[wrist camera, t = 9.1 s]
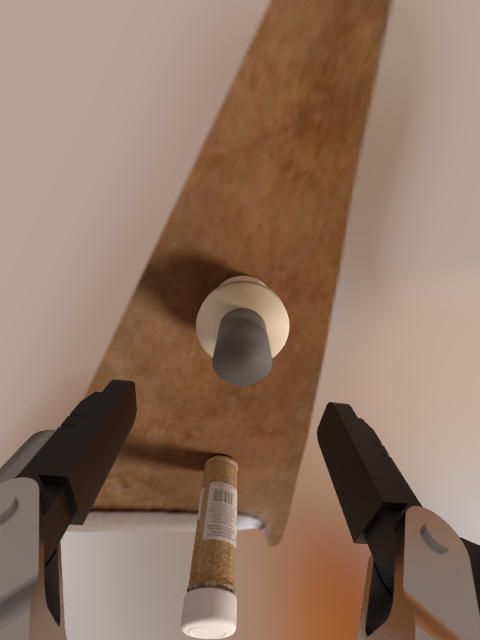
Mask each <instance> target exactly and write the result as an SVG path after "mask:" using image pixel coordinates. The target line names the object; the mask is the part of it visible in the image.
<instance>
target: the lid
mask: <svg viewBox="0 0 480 640" xmlns="http://www.w3.org/2000/svg"><path fill="white" fill-rule="evenodd" d="M196 332H197V337H198V340H199V342H200V344H201V346H202V347H203V349H204V350H205V351H206V352H207V353H208V354H209V355H210V356H211V357H212V358H213V367H214V370H215V372H216V373H217V374H218V376H219V377H220V378H222V379H223V380H224V381H226V382H228V383H231V384H234V385H240V386H245V385H251V384H255V383H257V382H259V381H261V380H262V379H264V378H265V377H266V376H267V375H268V373H269V372H270V370H271V367H272V358H273V357H274V356H276V355H277V354H278V353H279V351H280V350H281V349H282V348H283V346H284V345H285V342H286V340H287V337H288V334H289V318H288V315H287V312H286V310H285V307H284V305H283V303H282V301H281V300H280V298H279V297H278V296H277V295H276V294H275V293H274V292H273V291H272V290H271V289H269V288H268V287H266V286H264V285H262V284H260V283H257V282H253V281H244V280H241V281H233V282H229V283H226V284H223V285H221V286H219V287H217V288H216V289H215V290H213V291H212V292H211V293H210V294H209V295H208V296H207V297H206V299H205V300H204V302H203V303H202V306H201V308H200V310H199V312H198V315H197V319H196Z"/></svg>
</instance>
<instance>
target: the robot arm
mask: <svg viewBox="0 0 480 640" xmlns="http://www.w3.org/2000/svg"><path fill="white" fill-rule="evenodd" d="M136 412H137V407H136V393H135V383H134V382H133V381H124V380H112V381H111V382H110V383H109V384H108V385H107V387H106V388H105V389H104V390H103V392H94V393H93V394H91V395H90V396H88V397H87V398H85V399H84V400H82V401H81V402H80V403H79V404H78V406H76V408H75V409H74V410H73V411H72V412H71V414H70V416H68V417H67V418H66V419H65V421H64V422H63V423H62V424H61V427H59V428H58V429H57V430H45V431H40V432H38V433H35V434H34V435H32V436H31V437H30V438H29V439H28V440H27V441H26V442H25V443H24V444H23V445H22V446H21V447H20V448H19V449H18V451H17V452H16V453H15V454H14V455H13V456H12V457H11V458H10V459H9V460H8V461H7V462H6V463H5V464H4V465H3V466H2V467H1V468H0V640H67V638H66V631H65V622H64V602H63V583H62V565H61V544H60V540H61V539H62V537H63V535H64V533H65V531H66V530H67V528H68V526H69V524H73V525H83V523H84V521H85V519H86V517H87V515H88V513H89V511H90V509H91V508H92V506H93V504H94V502H95V500H96V498H97V496H98V494H99V492H100V490H101V488H102V486H103V484H104V482H105V480H106V478H107V476H108V474H109V472H110V470H111V468H112V466H113V464H114V462H115V460H116V458H117V456H118V454H119V452H120V450H121V448H122V446H123V444H124V442H125V440H126V438H127V436H128V434H129V432H130V430H131V428H132V426H133V424H134V421H135V418H136ZM317 438H318V443H319V446H320V448H321V451H322V454H323V457H324V460H325V463H326V465H327V468H328V471H329V474H330V477H331V479H332V482H333V485H334V488H335V490H336V494H337V496H338V499H339V502H340V505H341V508H342V510H343V513H344V516H345V519H346V522H347V524H348V527H349V530H350V533H351V536H352V538H353V541H354V543H359V544H368V546H369V548H370V551H371V555H370V557H369V561H368V568H367V576H366V583H365V589H364V596H363V603H362V610H361V617H360V623H359V630H358V636H357V639H356V640H480V546H479V545H477V544H475V543H472V542H470V541H468V540H465V539H463V538H460V537H459V536H458V535H457V534H456V532H455V531H454V530H453V529H452V528H451V527H450V525H449V524H447V523H446V522H445V521H444V520H443V519H442V518H441V517H439V516H438V515H436V514H435V513H434V512H432V511H430V510H428V509H426V508H423V507H422V505H421V504H420V502H419V501H418V499H417V498H416V496H415V495H414V493H413V492H412V490H411V488H410V487H409V485H408V484H407V482H406V481H405V479H404V477H403V476H402V474H401V473H400V471H399V470H398V468H397V466H396V465H395V463H394V462H393V460H392V458H391V457H389V454H388V452H387V451H386V449H385V447H384V446H382V443H381V441H380V440H379V438H378V437H377V435H376V433H375V432H374V430H373V429H372V428H371V427H370V426H369V425H368V424H367V423H366V422H365V421H364V420H363V419H360V418H358V417H357V416H356V414H355V412H354V411H353V409H352V407H351V406H350V405H348V404H343V403H333V402H329V403H328V404H327V406H326V409H325V411H324V414H323V416H322V419H321V421H320V424H319V426H318V430H317Z"/></svg>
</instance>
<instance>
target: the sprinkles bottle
mask: <svg viewBox="0 0 480 640" xmlns="http://www.w3.org/2000/svg"><path fill="white" fill-rule="evenodd" d="M204 470H205V472H204V480H203V487H202V491H201V496H200V503H199V510H198V517H197V529H196V536H195V543H194V550H193V557H192V564H191V572H190V580H189V586H188V588H187V594H186V595H185V598H184V605H183V612H182V620H181V629H182V631H183V632H184V633H185V634H186V635H189V636H191V637H195V638H201V639H220V638H225V637H228V636H230V635H232V634H233V633H234V632H235V630H236V615H237V614H236V613H237V598H236V596H235V594H236V591H235V561H236V557H235V556H236V542H237V541H236V540H237V538H236V537H237V472H238V465H237V463H236V461H235V460H234V459H232V458H230V457H227V456H214V457H211V458H209V459H208V460H207V461H206V463H205V466H204Z"/></svg>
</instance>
